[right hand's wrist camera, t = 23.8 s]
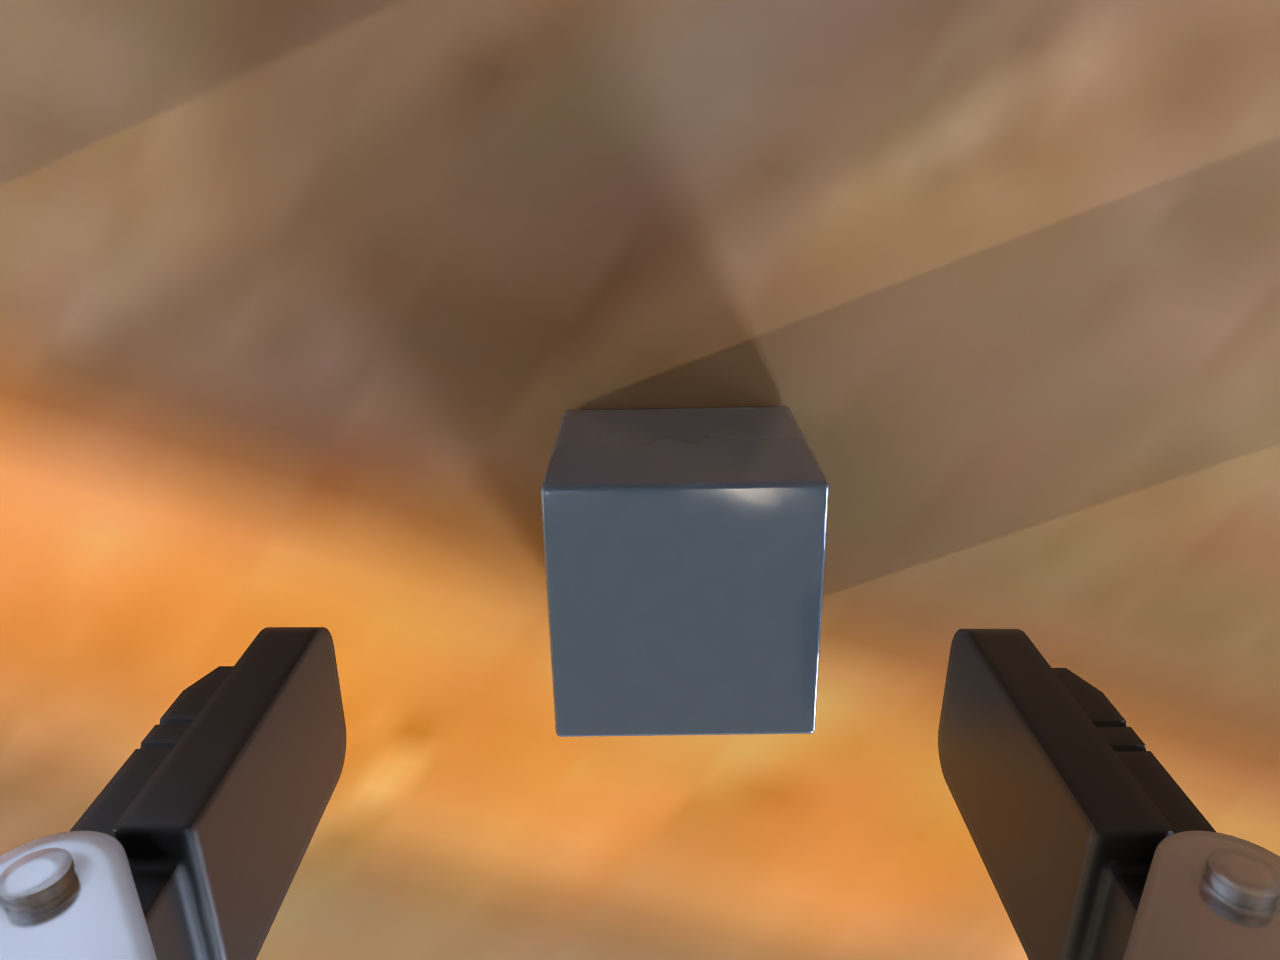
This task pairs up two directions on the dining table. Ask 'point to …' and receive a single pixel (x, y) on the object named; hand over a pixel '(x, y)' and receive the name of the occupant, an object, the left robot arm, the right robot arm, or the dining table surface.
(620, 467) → the block
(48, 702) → the dining table surface
